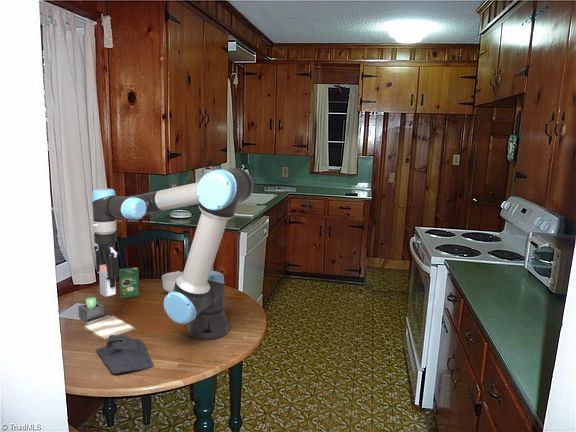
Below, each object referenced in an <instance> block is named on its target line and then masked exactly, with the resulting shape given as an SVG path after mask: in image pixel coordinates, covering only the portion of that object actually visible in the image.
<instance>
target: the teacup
mask: <svg viewBox="0 0 576 432" xmlns="http://www.w3.org/2000/svg"><path fill="white" fill-rule="evenodd" d="M183 272H184V271H180V270H177V271H172V272H167V273H164V274H163V275H162V276H161V283H162V288H163V290H164V291H165V292H167V293H170V292H172V291H173V289H174V286H175V282H176V279H177V278H178V277H179V276H181V275H183Z"/></svg>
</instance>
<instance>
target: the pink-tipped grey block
mask: <svg viewBox="0 0 576 432" xmlns="http://www.w3.org/2000/svg"><path fill="white" fill-rule="evenodd" d="M98 276H99V294H100V295H101V296H104V297H108V296H107V279H106V278H108V274H107V268H106V264H104V265H100V271H99V272H98ZM116 282H117V281H116V279H115V295H117V286H116V285H117V284H116Z"/></svg>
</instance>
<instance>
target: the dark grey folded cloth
mask: <svg viewBox="0 0 576 432" xmlns="http://www.w3.org/2000/svg"><path fill="white" fill-rule="evenodd" d="M96 353H97V354H98V355H99V358H100V360H102V361H103V363H104V365H106V367H107V368H108V369H109V371H110V372H111V373H112V374H115V375H117V374H124V373H129V372H134V371H135V372H136V371H137V372H139V371H142V370H148V369H151V368H152V367H155V365H154V362H153V361H152V357H151V355H150V354H149V352H148V349H147V348H146V346H145V343H144V342H143V340H142V339H139V338H132V337H130V336H128V335H124V334H122V335H118V336H117V335H110V336H109V339H108V340H106V345H105V346H102V347H99V348H96Z"/></svg>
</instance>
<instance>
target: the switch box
mask: <svg viewBox="0 0 576 432" xmlns="http://www.w3.org/2000/svg"><path fill="white" fill-rule="evenodd" d="M96 306H97V307H94V308H91V309H88V308H87V307H86V303H85V304H80V305H78V317H79V319H80V320H81V321H83V322H85V323H86V322H89V321H92V320H95V319H99V318H102V317H105V316H106V311H105V309H106V308H105V307H106V306H105V305H104V304H102V303H100V302H99V301H96Z"/></svg>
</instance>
